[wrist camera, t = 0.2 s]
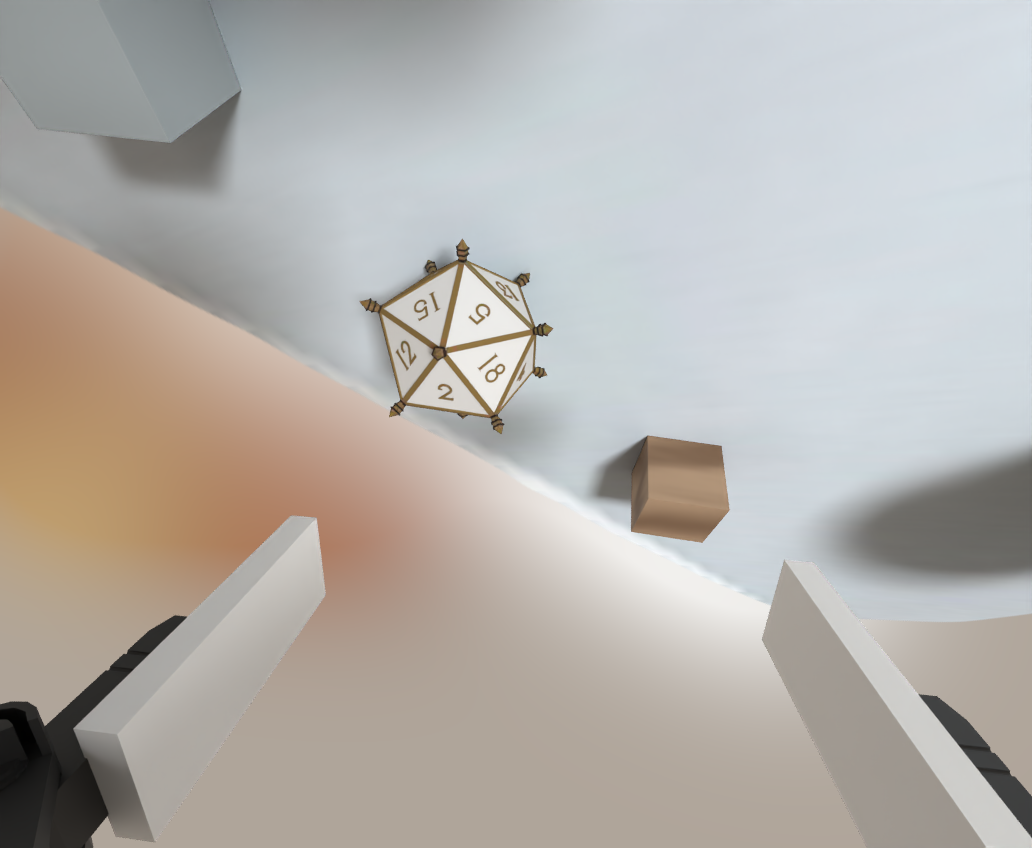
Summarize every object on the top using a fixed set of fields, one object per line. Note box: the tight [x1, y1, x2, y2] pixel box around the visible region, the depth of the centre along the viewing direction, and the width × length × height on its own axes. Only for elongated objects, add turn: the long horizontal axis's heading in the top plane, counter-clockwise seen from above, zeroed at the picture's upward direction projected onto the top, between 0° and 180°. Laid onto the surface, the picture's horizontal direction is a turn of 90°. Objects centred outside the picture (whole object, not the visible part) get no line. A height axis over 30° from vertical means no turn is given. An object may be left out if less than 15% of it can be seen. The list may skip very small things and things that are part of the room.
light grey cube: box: [0, 0, 242, 143], centre depth 16 cm, size 5×5×5 cm
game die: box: [359, 239, 553, 434], centre depth 23 cm, size 9×8×10 cm
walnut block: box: [631, 436, 729, 543], centre depth 33 cm, size 5×5×5 cm
